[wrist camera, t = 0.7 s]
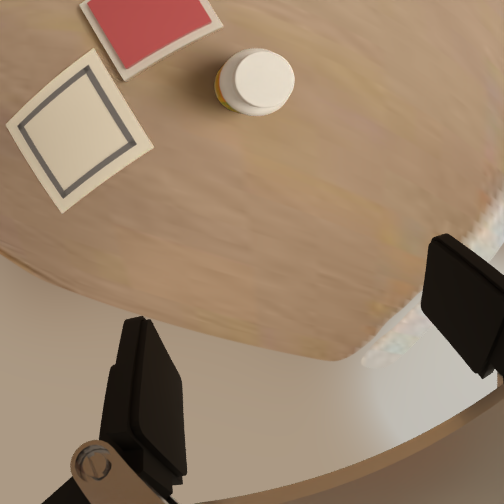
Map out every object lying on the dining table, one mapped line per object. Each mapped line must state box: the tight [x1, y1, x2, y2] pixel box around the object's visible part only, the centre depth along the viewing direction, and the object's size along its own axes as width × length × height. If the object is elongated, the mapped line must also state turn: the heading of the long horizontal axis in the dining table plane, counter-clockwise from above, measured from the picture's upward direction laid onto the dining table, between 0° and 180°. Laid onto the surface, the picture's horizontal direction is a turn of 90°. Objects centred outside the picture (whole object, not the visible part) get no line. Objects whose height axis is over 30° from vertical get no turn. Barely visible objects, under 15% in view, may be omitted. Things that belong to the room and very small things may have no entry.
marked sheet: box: [6, 48, 154, 214], centre depth 25 cm, size 12×12×1 cm
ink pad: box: [79, 0, 223, 82], centre depth 21 cm, size 10×10×2 cm
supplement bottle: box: [214, 48, 294, 116], centre depth 22 cm, size 5×5×10 cm
